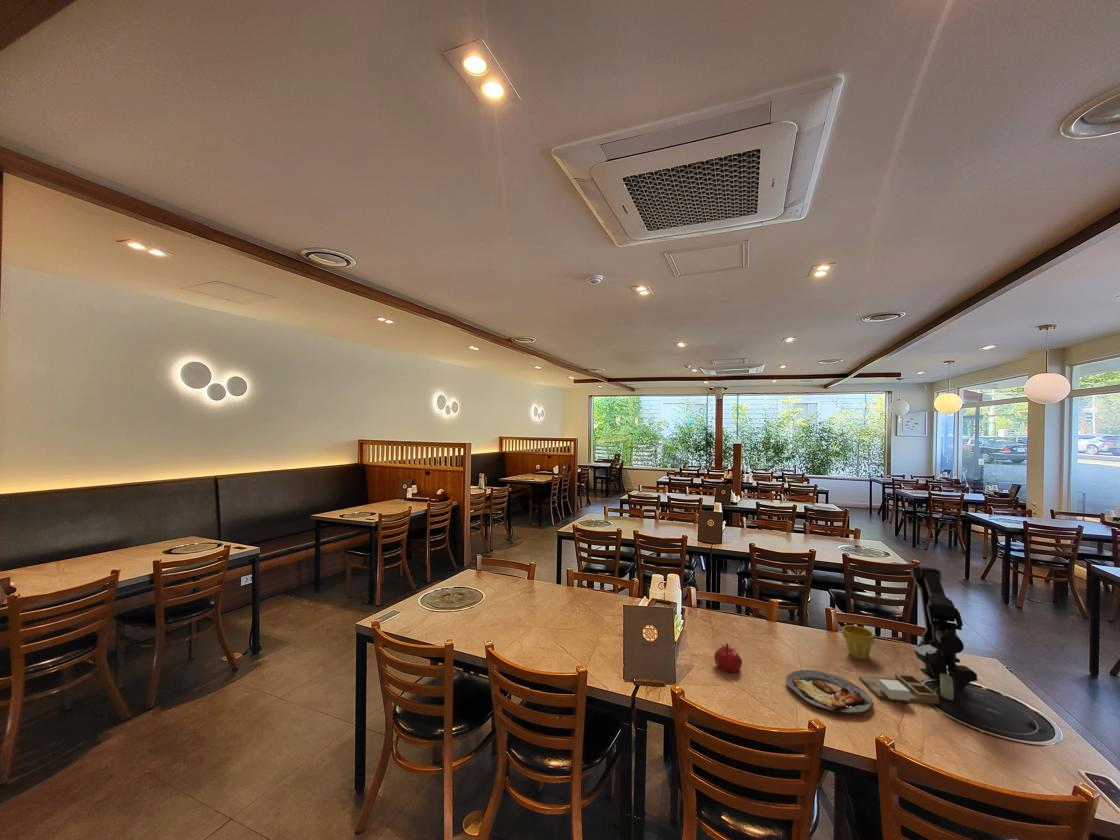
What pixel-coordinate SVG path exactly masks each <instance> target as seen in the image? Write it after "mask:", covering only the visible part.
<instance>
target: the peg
mask: <svg viewBox="0 0 1120 840" xmlns="http://www.w3.org/2000/svg"><path fill="white" fill-rule="evenodd" d="M948 674H949V673H947V674H944V673H940V679H939V685H940V696H941V697H942V698H943V697H944V698H943V699H945V698H946V699H945V700H949V701H953V699H954V698H955V697H954V687H953V681H952V678H951V677H950V676H949V675H948Z"/></svg>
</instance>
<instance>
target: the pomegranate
mask: <svg viewBox="0 0 1120 840" xmlns="http://www.w3.org/2000/svg"><path fill="white" fill-rule="evenodd" d="M721 646H722V647H720V648H717V650H716V651H715V653H714V657H713V658H714V662H715V665H716V666H717V667H718V668H720V670H722V671H724V670H725V672H728V673H736V671H737V672H738V671H739V670H741V668H742V664H743V659H742V658H741V657H740V655H739V653H738V652H737V651H736V650H738V649H737V648H734V647H733V648H731V647H732V645H729V643H727V642H725V645H724V644H721Z"/></svg>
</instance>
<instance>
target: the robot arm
mask: <svg viewBox="0 0 1120 840" xmlns="http://www.w3.org/2000/svg"><path fill="white" fill-rule="evenodd" d="M910 576H911V578H913V583H914V585H916V587H917V588H918V589H919V592H920V597H921V598H920V599H921V606H922V612H923V620H924V628H925V631H924V632H923V634H922V635H921V638H920V639H921V640H919V644H918V645H917V646H915V647H913V651H914V653H915V656H916V658H917V659H918V660H920V661H921V662H922V663H924V668H920V671H921V672H922V673H924V674H925V675H926V676H928V677H929V678H931V679H933V680H940V673H944V674H948V675H949V676H950V677H951V678H952V681H953V693H954V695H955V696H957V697H958V696H961V694H962V693H963V692H964V691H965V688H966V687H968V686H969V684H970V683H971V682H977V681H978V674H977V673H976V672H975V671H974V670H972V668H970V667H968V666H966V665H959V664H960V663H961V660H960V659H959V657H957V654H960V653H961V652H962V651H964V649H965V648H964V647H965V646H964V643H963V641H962V639H961V638H960V637H959V635H958V634H957V631H962V630H963V628H962V627H963V626H964V624H963V620H962V616H961V612H960V611H959V609H958V608H957V607H955V605H954V602H953V601H952V600H951V599H949V598H948V597H947V596H946V594H945V591H944V588H943V585H942V582H941V581H943V579H942V571H941V570H939V569H937V568H935V567H929V566H918V565H914V567H911V568H910ZM955 622H956V623H955ZM956 663H957V664H956ZM958 663H959V664H958Z"/></svg>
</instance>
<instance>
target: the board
mask: <svg viewBox="0 0 1120 840" xmlns="http://www.w3.org/2000/svg"><path fill="white" fill-rule="evenodd" d="M894 676H895V677H882V676H881V677H880V676H867V675H858V677H859V681H860V682H861V683H862V684H863V685H864V686H865V687H866V688H867V689H868V690H869V691H870V692H872V694H873V695H874V696H875V697H876V698H877V699H878V700H881V701H882V700H883V701H894V702H895V701H897V702H907V703H908V702H909V703H910V702H911V703H920V704H921V703H922V704H923V703H924V704H933V705H939V704H940V699H939V698H940V696H939V694H937V693H936V692H935V691H934V690H932V689H931V688H930V687H928V685H926V684H925V683H924V682H922V681H921V680H920V679H919V678H917V677H916V675H913V674H912V675H911V674H899V673H894ZM879 679H882V680H896V681H899V682H900V683H901V684H902V685H904V686H905V687H906V688H907V689H908V690H909V691H910V700H899V699H890V698H889V697H888V696H887V695H886V694H885V693H884V692H883V691H882V690H881V689H880V688H879Z"/></svg>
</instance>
